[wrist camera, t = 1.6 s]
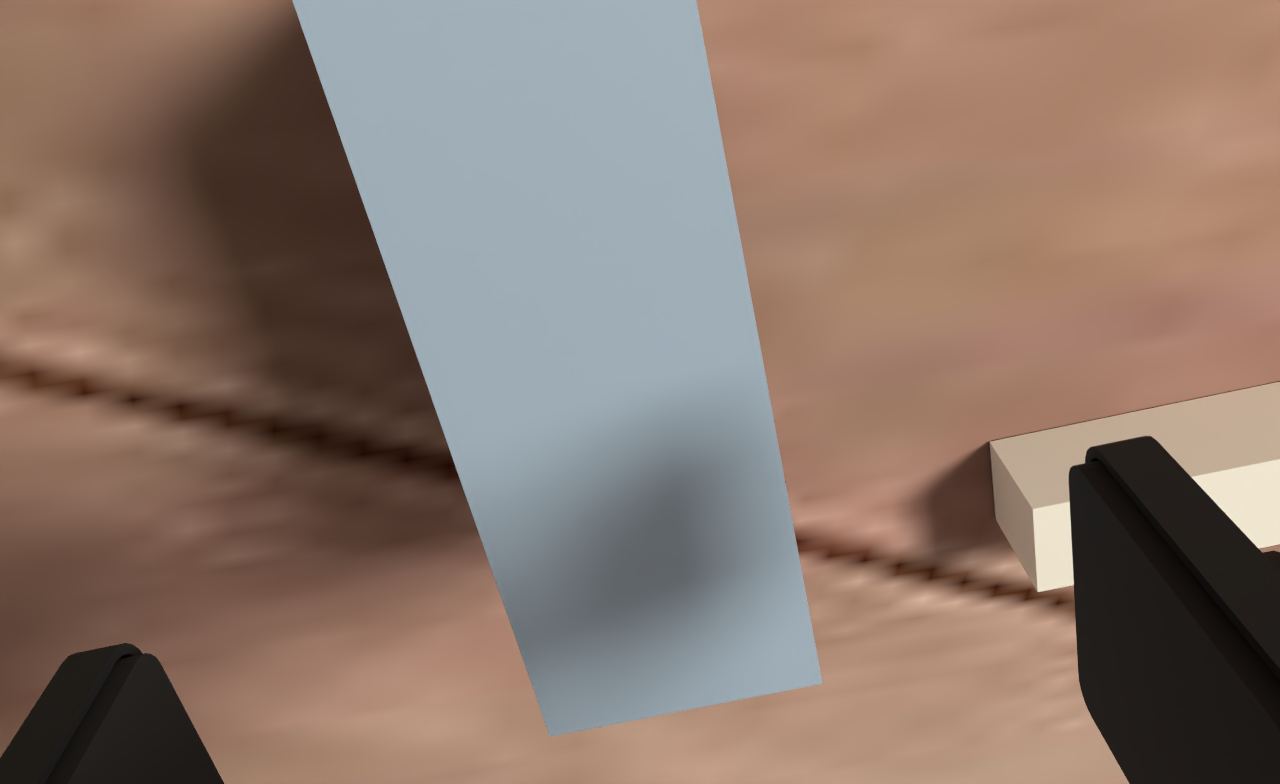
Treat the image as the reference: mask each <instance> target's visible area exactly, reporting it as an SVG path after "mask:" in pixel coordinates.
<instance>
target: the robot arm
mask: <svg viewBox="0 0 1280 784" xmlns="http://www.w3.org/2000/svg"><path fill="white" fill-rule="evenodd" d="M1069 499H1070V519H1071V538H1072V557H1073V577H1074V596H1075V615H1076V635H1077V654H1078V673H1079V682H1080V686H1081V691H1082V694H1083V697H1084V700H1085V703H1086V706H1087V708H1088V710H1089V712H1090V714H1091V716H1092V718H1093V720H1094V722H1095V723H1096V725H1097V727H1098V729H1099V730H1100V732H1101V734H1102V736H1103V737H1104V739H1105V741H1106V743H1107V744H1108V746H1109V748H1110V750H1111V752H1112V753H1113V755H1114V757H1115V759H1116V760H1117V762H1118V764H1119V766H1120V767H1121V769H1122V771H1123V773H1124V774H1125V776H1126V778H1127V780H1128V781H1129V783H1130V784H1280V552H1276V551H1270V552H1264V553H1262V552H1261V551H1260V550H1259V549H1258V548H1257V547H1256V546H1255V544H1254V543H1253V542H1252V541H1251V540H1250V539H1249V538H1248V537H1247V536H1246V535H1245V534H1244V533H1243V532H1242V531H1241V530H1240V528H1239V527H1238V526H1237V525H1236V524H1235V523H1234V522H1233V521H1232V520H1231V519H1230V518H1229V517H1228V516H1227V515H1226V514H1225V512H1224V511H1223V510H1222V509H1221V508H1220V507H1219V506H1218V505H1217V504H1216V503H1215V502H1214V501H1213V500H1212V499H1211V498H1210V496H1209V495H1208V494H1207V493H1206V492H1205V491H1204V490H1203V489H1202V488H1201V487H1200V486H1199V485H1198V484H1197V483H1196V482H1195V481H1194V479H1193V478H1192V477H1191V476H1190V475H1189V474H1188V473H1187V472H1186V471H1185V470H1184V469H1183V468H1182V467H1181V466H1180V465H1179V463H1178V462H1177V461H1176V460H1175V459H1174V458H1173V457H1172V456H1171V455H1170V454H1169V453H1168V452H1167V451H1166V450H1165V449H1164V447H1163V446H1162V445H1161V444H1160V443H1159V442H1158V441H1157V440H1155V439H1154V438H1153V437H1152V436H1142V437H1137V438H1132V439H1127V440H1122V441H1117V442H1112V443H1107V444H1102V445H1098V446H1093V447H1090V448H1089V449H1088V450H1087V452H1086V456H1085V463H1084V464H1079V465H1074V466H1072V467H1071V468H1070V471H1069ZM0 784H224V782H223V780H222V779H221V777H220V775H219V773H218V771H217V769H216V767H215V765H214V763H213V762H212V760H211V758H210V756H209V754H208V752H207V750H206V748H205V746H204V745H203V743H202V741H201V739H200V737H199V735H198V733H197V731H196V729H195V728H194V726H193V724H192V722H191V720H190V718H189V716H188V714H187V712H186V711H185V709H184V707H183V705H182V703H181V701H180V699H179V697H178V695H177V694H176V692H175V690H174V688H173V686H172V684H171V682H170V680H169V679H168V677H167V675H166V673H165V671H164V669H163V667H162V665H161V664H160V662H159V661H158V659H157V658H156V657H155V656H153V655H152V654H147V653H145V654H142V653H141V651H140V650H139V649H138V648H137V647H135V646H134V645H133V644H127V643H124V644H119V645H114V646H109V647H104V648H99V649H94V650H89V651H84V652H79V653H75V654H73V655H70V656H68V658H67V659H66V660H65V661H64V662H63V663H62V664H61V666H60V667H59V669H58V670H57V672H56V674H55V675H54V677H53V678H52V680H51V681H50V683H49V684H48V686H47V687H46V689H45V690H44V692H43V693H42V695H41V697H40V698H39V700H38V701H37V703H36V704H35V706H34V707H33V709H32V710H31V712H30V713H29V715H28V717H27V718H26V720H25V721H24V723H23V724H22V726H21V727H20V729H19V730H18V732H17V733H16V735H15V736H14V738H13V740H12V741H11V743H10V744H9V746H8V747H7V749H6V750H5V752H4V753H3V755H2V756H1V758H0Z"/></svg>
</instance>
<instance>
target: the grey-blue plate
mask: <svg viewBox="0 0 1280 784" xmlns="http://www.w3.org/2000/svg"><path fill="white" fill-rule="evenodd" d="M292 1H293V4H294V7H295V10H296V12H297V15H298V18H299V21H300V24H301V27H302V30H303V32H304V35H305V38H306V41H307V44H308V47H309V50H310V52H311V55H312V58H313V61H314V64H315V67H316V70H317V72H318V75H319V78H320V81H321V84H322V87H323V90H324V92H325V95H326V98H327V101H328V104H329V107H330V110H331V112H332V115H333V118H334V121H335V124H336V127H337V130H338V132H339V135H340V138H341V141H342V144H343V147H344V150H345V152H346V155H347V158H348V161H349V164H350V167H351V170H352V172H353V175H354V178H355V181H356V184H357V187H358V190H359V192H360V195H361V198H362V201H363V204H364V207H365V210H366V212H367V215H368V218H369V221H370V224H371V227H372V230H373V232H374V235H375V238H376V241H377V244H378V247H379V249H380V252H381V255H382V258H383V261H384V264H385V267H386V269H387V272H388V275H389V278H390V281H391V284H392V287H393V289H394V292H395V295H396V298H397V301H398V304H399V307H400V309H401V312H402V315H403V318H404V321H405V324H406V327H407V329H408V332H409V335H410V338H411V341H412V344H413V347H414V349H415V352H416V355H417V358H418V361H419V364H420V367H421V369H422V372H423V375H424V378H425V381H426V384H427V387H428V389H429V392H430V395H431V398H432V401H433V404H434V407H435V409H436V412H437V415H438V418H439V421H440V424H441V427H442V429H443V432H444V435H445V438H446V441H447V444H448V447H449V449H450V452H451V455H452V458H453V461H454V464H455V467H456V469H457V472H458V475H459V478H460V481H461V484H462V487H463V489H464V492H465V495H466V498H467V501H468V504H469V507H470V509H471V512H472V515H473V518H474V521H475V524H476V527H477V529H478V532H479V535H480V538H481V541H482V544H483V547H484V549H485V552H486V555H487V558H488V561H489V564H490V567H491V569H492V572H493V575H494V578H495V581H496V584H497V587H498V589H499V592H500V595H501V598H502V601H503V604H504V607H505V609H506V612H507V615H508V618H509V621H510V624H511V627H512V629H513V632H514V635H515V638H516V641H517V644H518V647H519V649H520V652H521V655H522V658H523V661H524V664H525V667H526V669H527V672H528V675H529V678H530V681H531V684H532V687H533V689H534V692H535V695H536V698H537V701H538V704H539V707H540V709H541V712H542V715H543V718H544V721H545V724H546V727H547V729H548V732H549V735H550V737H551V736H556V735H561V734H566V733H571V732H577V731H582V730H587V729H592V728H597V727H602V726H607V725H612V724H618V723H623V722H628V721H633V720H638V719H643V718H648V717H653V716H658V715H664V714H669V713H674V712H679V711H684V710H689V709H694V708H699V707H705V706H710V705H715V704H720V703H725V702H730V701H735V700H740V699H746V698H751V697H756V696H761V695H766V694H771V693H776V692H781V691H787V690H792V689H797V688H802V687H807V686H812V685H817V684H822V678H821V673H820V668H819V662H818V657H817V651H816V646H815V641H814V635H813V630H812V624H811V619H810V614H809V608H808V603H807V597H806V592H805V586H804V581H803V576H802V570H801V565H800V559H799V554H798V549H797V543H796V538H795V532H794V527H793V522H792V516H791V511H790V505H789V500H788V494H787V489H786V484H785V478H784V473H783V467H782V462H781V457H780V451H779V446H778V440H777V435H776V429H775V424H774V419H773V413H772V408H771V402H770V397H769V392H768V386H767V381H766V375H765V370H764V365H763V359H762V354H761V348H760V343H759V337H758V332H757V327H756V321H755V316H754V310H753V305H752V300H751V294H750V289H749V283H748V278H747V273H746V267H745V262H744V256H743V251H742V245H741V240H740V235H739V229H738V224H737V218H736V213H735V208H734V202H733V197H732V191H731V186H730V180H729V175H728V170H727V164H726V159H725V153H724V148H723V143H722V137H721V132H720V126H719V121H718V116H717V110H716V105H715V99H714V94H713V88H712V83H711V78H710V72H709V67H708V61H707V56H706V51H705V45H704V40H703V34H702V29H701V24H700V18H699V13H698V7H697V2H696V0H292Z"/></svg>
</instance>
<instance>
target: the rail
mask: <svg viewBox="0 0 1280 784" xmlns="http://www.w3.org/2000/svg"><path fill="white" fill-rule="evenodd" d="M1142 436H1152V437H1153V438H1154V439H1155V440H1157V441H1158V442H1159V443H1160V444H1161V445H1162V446H1163V447H1164V449H1165V450H1166V451H1167V452H1168V453H1169V454H1170V455H1171V456H1172V457H1173V458H1174V459H1175V460H1176V461H1177V462H1178V463H1179V465H1180V466H1181V467H1182V468H1183V469H1184V470H1185V471H1186V472H1187V473H1188V474H1189V475H1190V476H1191V477H1192V478H1193V479H1194V481H1195V482H1196V483H1197V484H1198V485H1199V486H1200V487H1201V488H1202V489H1203V490H1204V491H1205V492H1206V493H1207V494H1208V495H1209V496H1210V498H1211V499H1212V500H1213V501H1214V502H1215V503H1216V504H1217V505H1218V506H1219V507H1220V508H1221V509H1222V510H1223V511H1224V512H1225V514H1226V515H1227V516H1228V517H1229V518H1230V519H1231V520H1232V521H1233V522H1234V523H1235V524H1236V525H1237V526H1238V527H1239V528H1240V530H1241V531H1242V532H1243V533H1244V534H1245V535H1246V536H1247V537H1248V538H1249V539H1250V540H1251V541H1252V542H1253V543H1254V544H1255V546H1256V547H1257V548H1262V547H1268V546H1273V545H1278V544H1280V382H1276V383H1271V384H1266V385H1261V386H1256V387H1251V388H1247V389H1242V390H1237V391H1232V392H1227V393H1222V394H1218V395H1213V396H1208V397H1203V398H1198V399H1193V400H1189V401H1184V402H1179V403H1174V404H1169V405H1164V406H1160V407H1155V408H1150V409H1145V410H1140V411H1135V412H1131V413H1126V414H1121V415H1116V416H1111V417H1106V418H1102V419H1097V420H1092V421H1087V422H1082V423H1077V424H1073V425H1068V426H1063V427H1058V428H1053V429H1048V430H1044V431H1039V432H1034V433H1029V434H1024V435H1019V436H1015V437H1010V438H1005V439H1000V440H995V441H990V454H991V466H992V479H993V492H994V504H995V517H996V521H997V523H998V524H999V526H1000V528H1001V530H1002V531H1003V533H1004V535H1005V536H1006V538H1007V540H1008V542H1009V543H1010V545H1011V547H1012V549H1013V550H1014V552H1015V554H1016V555H1017V557H1018V559H1019V561H1020V562H1021V564H1022V566H1023V568H1024V569H1025V571H1026V573H1027V574H1028V576H1029V578H1030V580H1031V581H1032V583H1033V585H1034V587H1035V588H1036V590H1037V592H1040V591H1045V590H1050V589H1055V588H1061V587H1066V586H1071V585H1074V577H1073V557H1072V538H1071V519H1070V499H1069V471H1070V468H1071V467H1072V466H1074V465H1079V464H1084V463H1085V456H1086V452H1087V450H1088V449H1089V448H1090V447H1093V446H1098V445H1102V444H1107V443H1112V442H1117V441H1122V440H1127V439H1132V438H1137V437H1142Z"/></svg>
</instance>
